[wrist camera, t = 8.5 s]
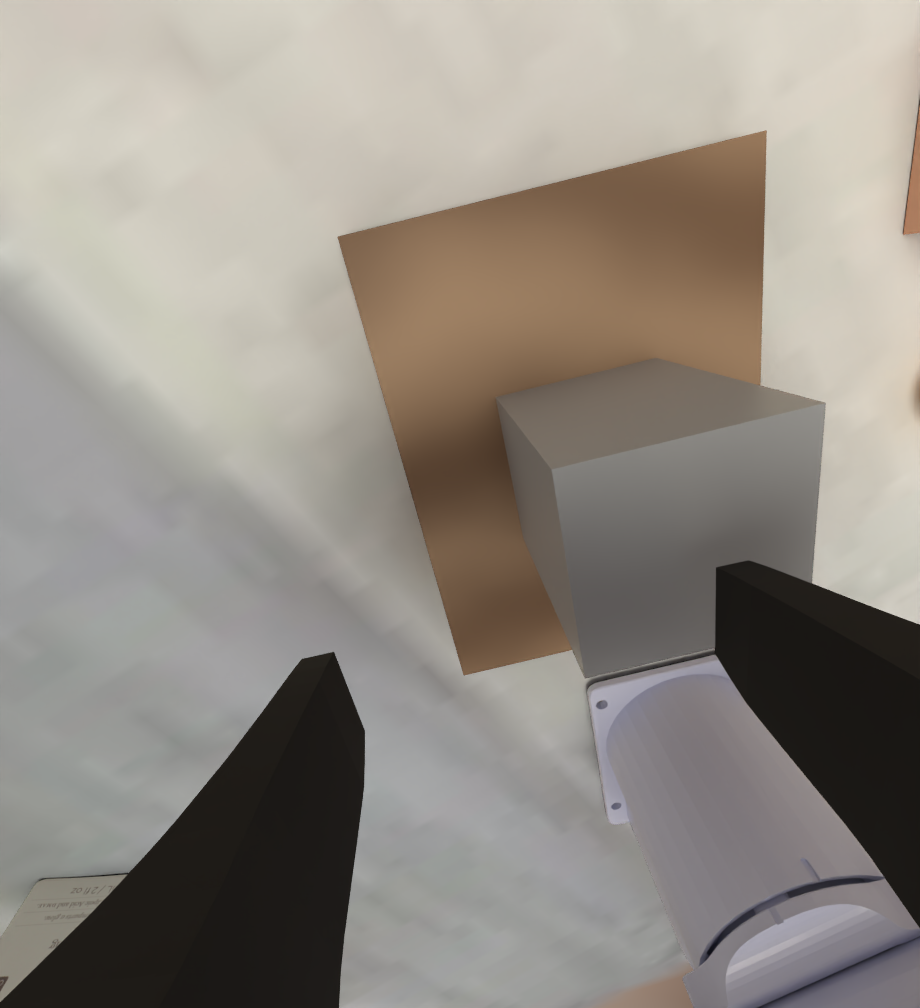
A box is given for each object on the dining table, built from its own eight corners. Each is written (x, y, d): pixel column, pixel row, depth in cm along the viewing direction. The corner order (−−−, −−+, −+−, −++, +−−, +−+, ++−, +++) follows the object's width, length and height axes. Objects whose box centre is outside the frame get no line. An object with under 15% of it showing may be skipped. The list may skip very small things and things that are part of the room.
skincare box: (163, 867, 25) (68, 1081, 18) (188, 936, 27) (113, 1149, 20) (34, 877, 24) (-113, 1102, 18) (71, 947, 27) (-45, 1169, 20)
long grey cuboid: (665, 504, 18) (808, 625, 11) (523, 538, 18) (585, 678, 11) (656, 357, 16) (825, 402, 9) (495, 397, 16) (551, 469, 9)
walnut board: (736, 589, 21) (755, 606, 20) (461, 655, 21) (463, 675, 20) (739, 143, 14) (766, 130, 13) (343, 241, 15) (337, 236, 14)
